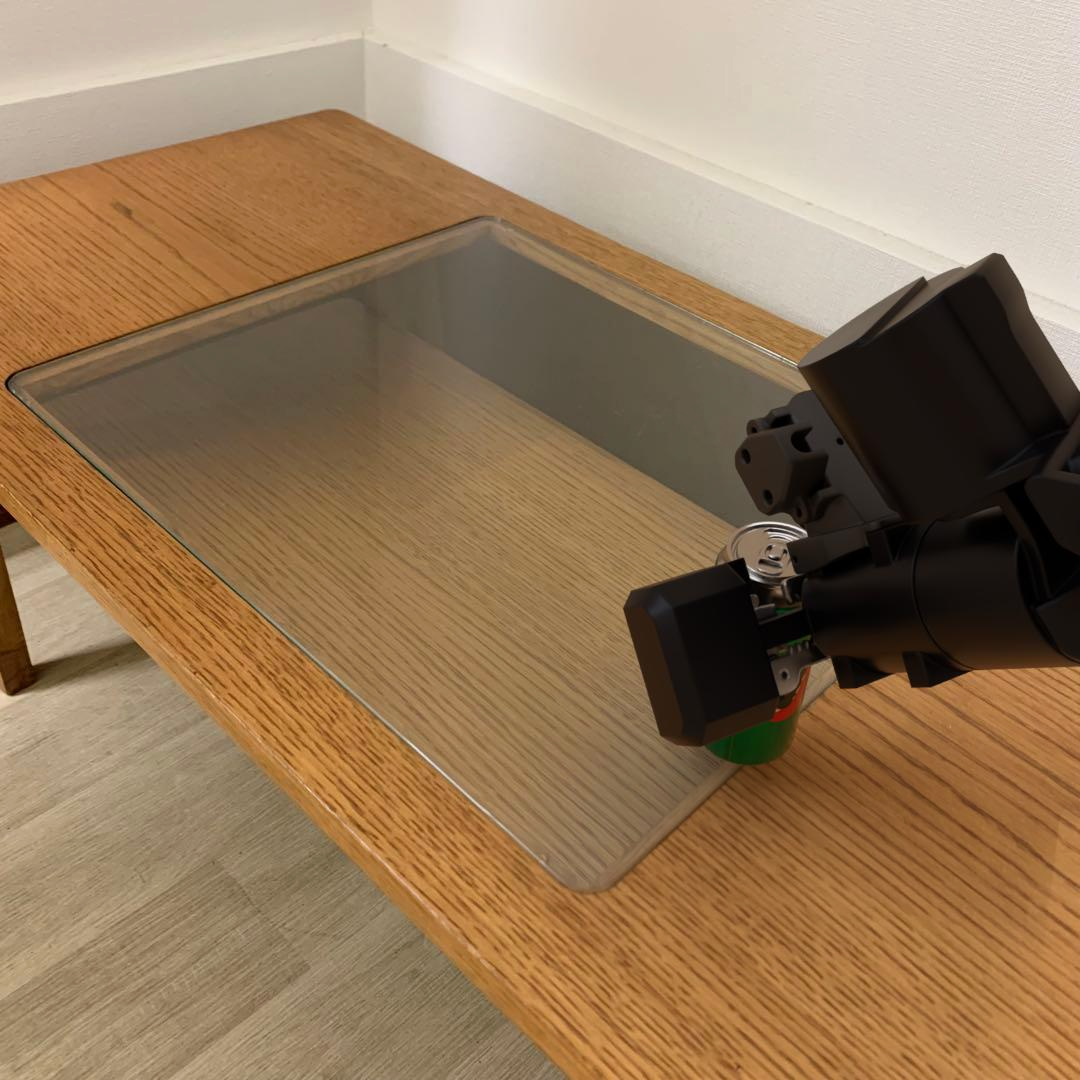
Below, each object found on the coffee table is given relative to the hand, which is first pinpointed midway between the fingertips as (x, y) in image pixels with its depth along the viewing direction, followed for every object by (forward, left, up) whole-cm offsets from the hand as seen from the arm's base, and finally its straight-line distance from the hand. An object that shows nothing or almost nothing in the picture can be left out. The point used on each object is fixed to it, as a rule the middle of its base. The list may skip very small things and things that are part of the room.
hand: (738, 617), depth 53 cm
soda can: (-2, 0, -7) cm, 7 cm away
